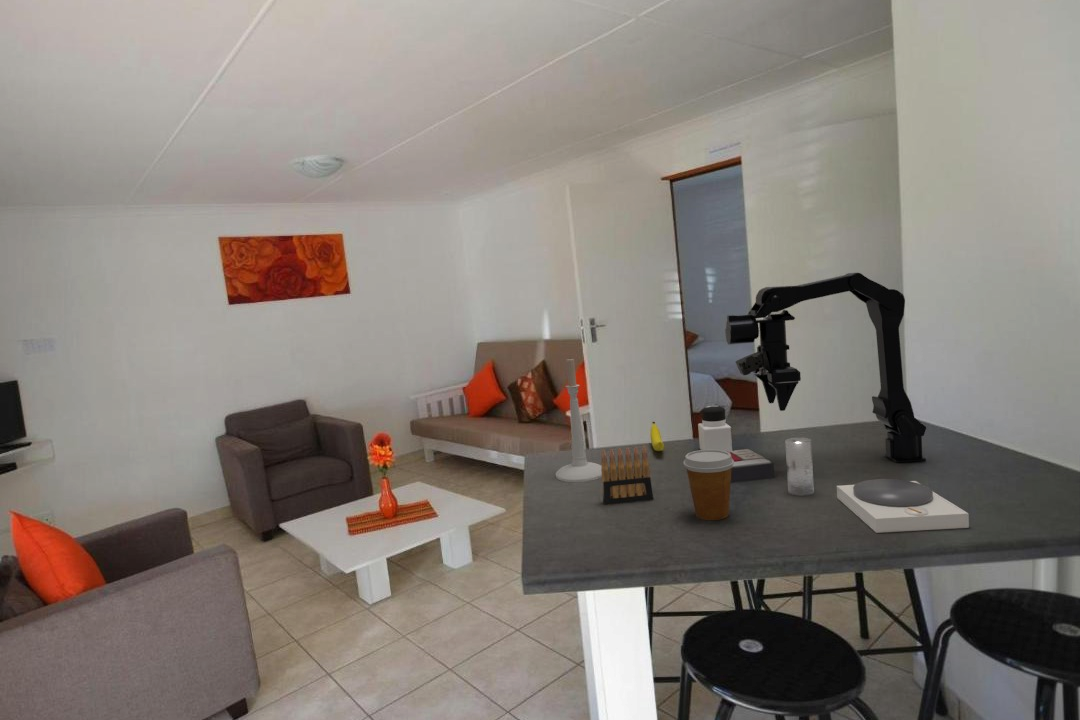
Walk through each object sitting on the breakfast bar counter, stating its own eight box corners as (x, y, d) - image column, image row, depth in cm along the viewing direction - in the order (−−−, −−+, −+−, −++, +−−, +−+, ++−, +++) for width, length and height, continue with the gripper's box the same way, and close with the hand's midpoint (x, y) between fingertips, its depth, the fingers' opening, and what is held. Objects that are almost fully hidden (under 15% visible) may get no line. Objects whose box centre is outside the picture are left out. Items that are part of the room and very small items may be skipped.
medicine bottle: (733, 453, 164) (730, 408, 163) (705, 455, 164) (702, 410, 163) (725, 446, 171) (722, 403, 170) (699, 448, 171) (696, 405, 170)
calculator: (749, 447, 156) (774, 460, 141) (750, 464, 156) (775, 478, 141) (705, 452, 156) (726, 465, 141) (707, 469, 156) (727, 484, 141)
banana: (656, 460, 164) (654, 437, 163) (650, 443, 183) (648, 421, 182) (667, 460, 164) (665, 436, 163) (660, 442, 182) (658, 421, 182)
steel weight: (809, 487, 133) (806, 436, 132) (817, 494, 128) (814, 442, 127) (785, 488, 134) (782, 438, 132) (792, 496, 129) (789, 444, 128)
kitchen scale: (915, 493, 124) (915, 475, 123) (968, 527, 106) (968, 507, 106) (837, 497, 125) (836, 481, 125) (876, 532, 108) (875, 513, 107)
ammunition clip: (604, 504, 135) (599, 450, 133) (603, 502, 137) (598, 448, 135) (653, 499, 135) (649, 445, 134) (651, 497, 137) (647, 443, 135)
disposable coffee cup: (683, 508, 128) (678, 451, 127) (729, 504, 128) (726, 447, 126) (693, 525, 119) (688, 464, 117) (743, 521, 118) (739, 459, 117)
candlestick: (594, 464, 167) (584, 352, 163) (614, 476, 154) (603, 356, 151) (549, 472, 163) (537, 358, 160) (566, 485, 151) (554, 362, 147)
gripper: (729, 340, 155) (733, 402, 157) (747, 347, 137) (751, 417, 138) (775, 336, 154) (778, 398, 156) (799, 343, 136) (803, 413, 137)
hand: (776, 406), depth 147 cm, fingers open, 9 cm apart
